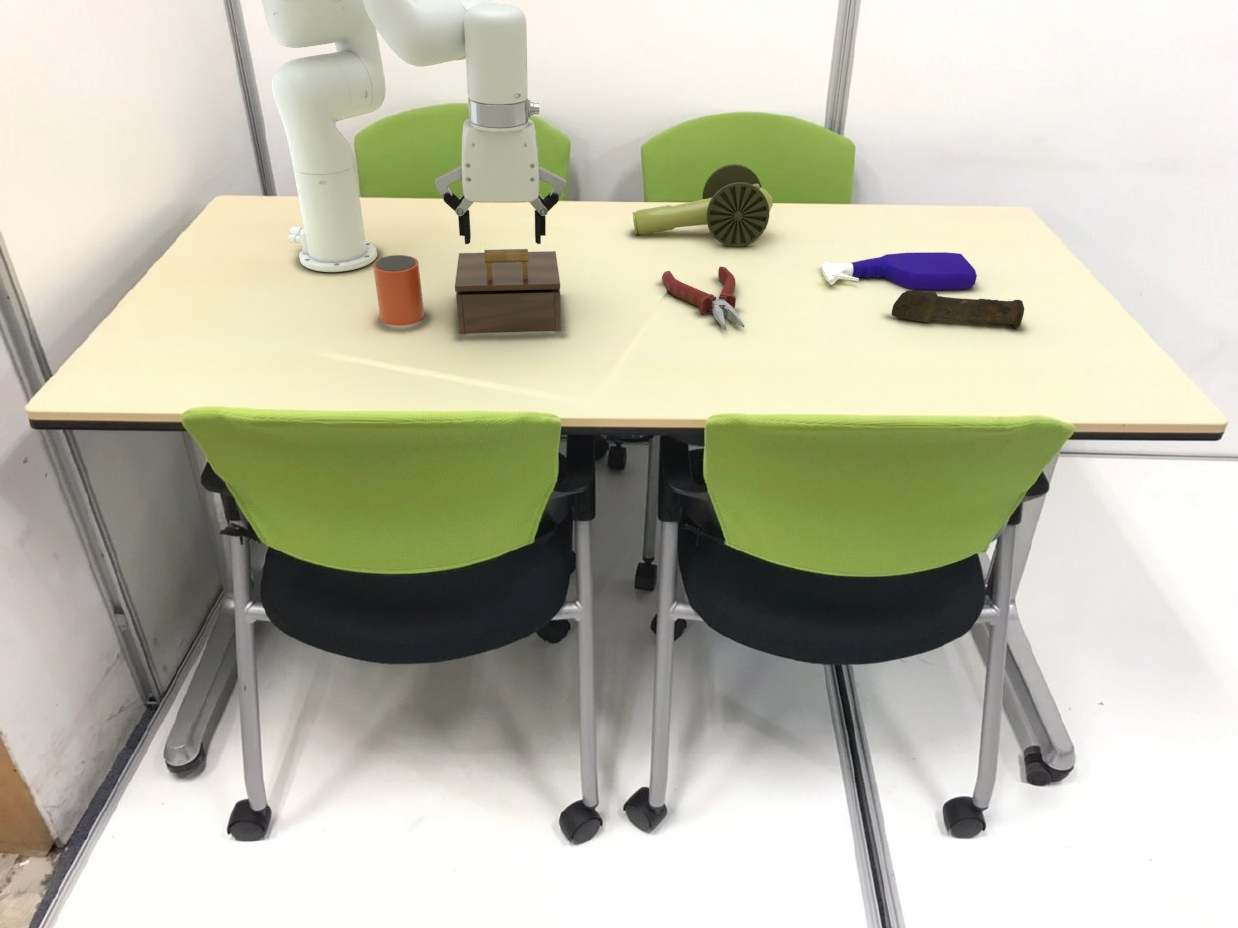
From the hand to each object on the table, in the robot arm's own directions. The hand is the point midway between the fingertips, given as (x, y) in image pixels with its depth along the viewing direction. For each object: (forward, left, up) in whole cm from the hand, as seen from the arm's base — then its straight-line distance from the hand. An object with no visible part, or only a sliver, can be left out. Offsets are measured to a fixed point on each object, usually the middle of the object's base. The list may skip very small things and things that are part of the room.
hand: (503, 240), depth 128 cm
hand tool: (+62, +26, -14) cm, 69 cm away
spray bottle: (+52, +40, -14) cm, 67 cm away
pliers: (+24, +19, -14) cm, 34 cm away
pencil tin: (-16, -2, -14) cm, 21 cm away
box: (-2, +4, -14) cm, 15 cm away
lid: (-1, +4, -7) cm, 8 cm away
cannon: (+17, +48, -14) cm, 53 cm away
